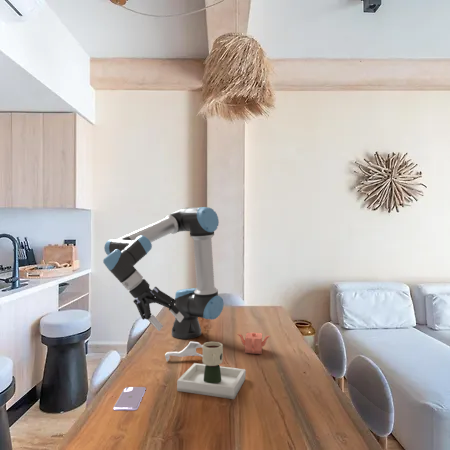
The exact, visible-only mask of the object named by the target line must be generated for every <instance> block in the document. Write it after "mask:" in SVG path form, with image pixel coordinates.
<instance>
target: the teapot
mask: <svg viewBox="0 0 450 450" xmlns="http://www.w3.org/2000/svg"><path fill="white" fill-rule="evenodd" d="M236 334H237V333H236ZM237 336H238V337H239V338H240V340H241V343H242V345H243V346H244V354H254V355H256V354H257V355H262V354H263V353H262V352H263V351H262V350H263V347H264V346H265V345H266V344H267V340H268V339H269V338H270V337H271V335H266V336H265V338H264V339H263V333H261V332H253V331H252V332H246V334H245V338H244V336H243V335H242V334H239V333H238V334H237Z"/></svg>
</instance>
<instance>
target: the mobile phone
mask: <svg viewBox="0 0 450 450" xmlns="http://www.w3.org/2000/svg"><path fill="white" fill-rule="evenodd" d="M145 390H147V388H146V387H145V386H126V387H124V388H123V390H122V392H121V393H120V395H119V397H118V399H117V400H116V403H115V404H114V406H113V408H112V410H113V411H116V412H117V411H137V410H138V409H139V407H140V406H141V403H140V402H142V400H143V398H144V395H145V393H146V391H145ZM142 397H143V398H142Z"/></svg>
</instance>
